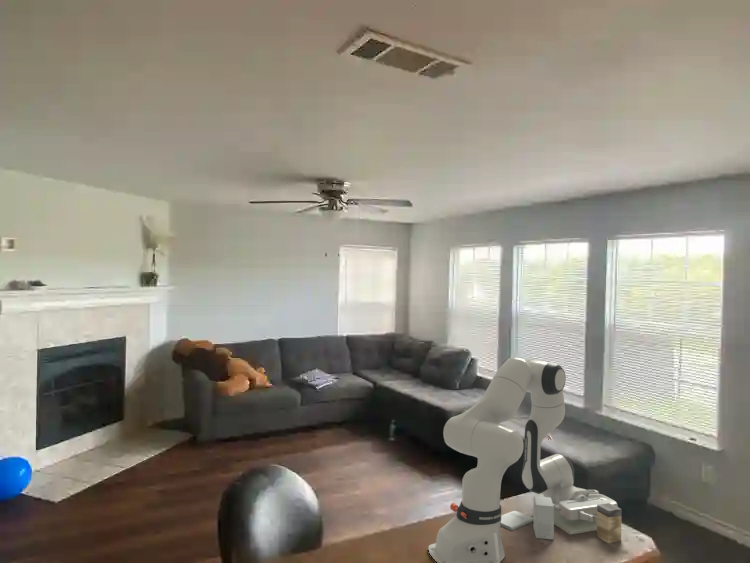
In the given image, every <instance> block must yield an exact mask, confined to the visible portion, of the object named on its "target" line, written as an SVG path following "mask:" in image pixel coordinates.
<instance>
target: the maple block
mask: <svg viewBox="0 0 750 563" xmlns="http://www.w3.org/2000/svg"><path fill="white" fill-rule="evenodd" d="M622 512H623V510H622V508H620V507H619V506H618V507H616V506H614V505H612V504H611V503H607V504H600V505H597V530H596V537H597V538H599V539H600V540H602V541H604V542H605V543H607V544H613V543H612V542H614V543H617V542H616V541H620V542H622Z"/></svg>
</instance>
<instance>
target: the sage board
mask: <svg viewBox="0 0 750 563" xmlns="http://www.w3.org/2000/svg"><path fill="white" fill-rule="evenodd" d="M554 526H556V527H558V528H560V530H562V531H564V532H565V533H567V534H568V535H577V534H581V533H587V532H594V531H597V517H595V522H589V521H588V520H583V519H578V520H568V519H566V518H565V517H563V516H562V515H561V514H560V513H559V510H557V509H555V508H554Z"/></svg>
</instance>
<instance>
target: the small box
mask: <svg viewBox="0 0 750 563" xmlns="http://www.w3.org/2000/svg"><path fill="white" fill-rule="evenodd" d="M554 505H555V504H553V502H552V500H551V498H549V497H544V496H537V495H534V496H533V516H532V517H533V521H532V522H533V524H532V525H533V531H534V536H535V539H543V540H552V541H553V540H555V524H554V510H555V508H554Z"/></svg>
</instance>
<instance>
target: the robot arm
mask: <svg viewBox="0 0 750 563" xmlns="http://www.w3.org/2000/svg"><path fill="white" fill-rule="evenodd" d="M566 377H567V376H566V371H565V370H564V369H563V367H562V366H561V365H560V364H558V363H555V362H553V361H550V362H548V361H544V360H539V359H534V358H525V357H524V358H523V357H521V358H520V357H514V356H512V357H509V358H506V359H505V360H504V361H503V362H502V363H501V365H500V367H499V368H498V370H497V371H496V372H495V374H494V376H493V378H492V379H491V381H490V383H489V384H488V387H487V388H486V390H485V391H484V393H483V395H481V398H480V399H479V400H478V401H477V402H476V403H475V404H473V405H472V406H471V407H470V408H468V409H467V410H465V411H463V412H462V413H460V414H457V415H454V416H452V417H451V416H450V418H449V419H448V420H446V423H445V424H444V426H443V432H442V434H443V439H444V440H443V441H444V443H445V444H446V446H448V447H449V448H451V449H452V450H454V451H456V452H459V453H460V454H464V455H467V456H470V457H471V456H472V457H473V458H474V457H475V458H477V464H476V465H477V466H476V467H475V468H471V469H470V470H468V471H466V472H465V474H464V475H463V477H462V482H461V484H462V485H461V486H462V487H461V488H462V489H461V490H462V492H461V496H462V497H461V501H460V504H459V505H457V504H456V503H455V502H452V503H451V504H450V505H449V508H450V510H452V511H453V512H454V513H456V515H455V516H454V517H453V518H451V519H450V520H449V521H448V522H446V524H445V525H443V526H442V527H440V528H439V530H438V532H437V535H436V540H435V542H434V543H431V544H429V545H428V547H427V548H428V550H429V552H428V554H429V553H430V555H431V556H432V557H433V559H435V561H437V562H438V563H501V562H502V561H503V559H505V556H506V553H505V549H504V546H503V540H502V531H501V526H500V522H501V516H502V505H501V486H502V480H503V476H504V475H505V473H506V471H507V469H508V468H509V467H510V466H512V465H514V464H515V463H517V462H518V461H519V459H520V458H521V457H522V454H523V464H522V470H521V481H522V483H523V486H524V487H525V488H526V490H528V491H530V492H532V493H534V494H538V495H540V494H542V496H543V497H549V498H551V500H552V502H553V505H554V510H555V509H557V510H559V513H560V514H561V515H562V516H563V517H565V518H566V519H568V520H578V519H583V520H588V521H589V522H595V517H597V505H600V504H607V503H611V504H612V505H614V506H616V507H618V508H619V506H618V503H617V501H615V500H614V499H612V498H610V497H609V496H606V495H605V494H601V493H599V490H596V489H585V488H581V487H578V486H577V487H576V486H575V485H574V483H575V469H574V465H573V464H572V462H571V461H570V460H569V458H567V457H566V456H565V455H563V454H561V453H555V454H552V455H550V456H547V457H545V458H543V459H541V446H542V442H543V440H544V439H545V438H546V437H547V436H548V434H550V433H551V432H552V431H553V430H554V429H556V428H557V427H559V425H561V423H562V422H563V420H564V418H565V415H566V406H565V404H566V403H565V397H564V391H563V390H564V387H565V385H566V379H567V378H566ZM527 393H530V400H531V401H530V402H531V410H530V411H531V412H530V413H529V418H528V420H527V422H526V424H525V426H524V439H523V437H522V434H521V433H520V432H519V431H518V430H516V429H514V428H512V427H510V426H507V425H506V424H502V423H504V422H508V421H510V420H511V419H513V418H514V417H515V416H516V415H517V413H518V410H519V408H520V406H521V404H522V402H523V401H524V398H525V396H526V394H527ZM428 550H427V551H428ZM430 555H429V556H430ZM431 556H430V557H431ZM433 559H432V560H433ZM435 561H434V562H435Z"/></svg>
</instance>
